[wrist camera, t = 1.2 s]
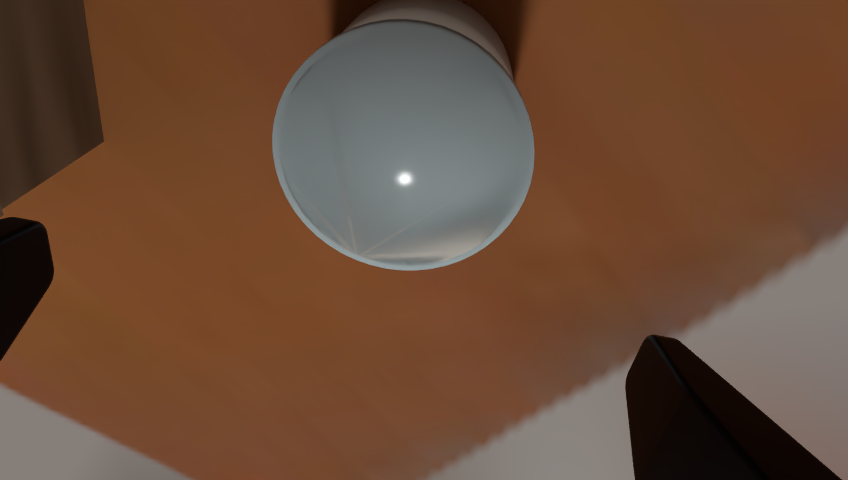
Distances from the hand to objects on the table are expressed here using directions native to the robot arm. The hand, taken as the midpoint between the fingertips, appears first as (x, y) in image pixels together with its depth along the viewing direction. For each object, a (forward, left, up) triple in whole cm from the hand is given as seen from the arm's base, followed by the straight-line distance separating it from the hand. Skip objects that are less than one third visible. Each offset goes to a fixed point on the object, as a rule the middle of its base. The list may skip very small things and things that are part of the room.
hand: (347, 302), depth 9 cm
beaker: (0, 0, -12) cm, 12 cm away
